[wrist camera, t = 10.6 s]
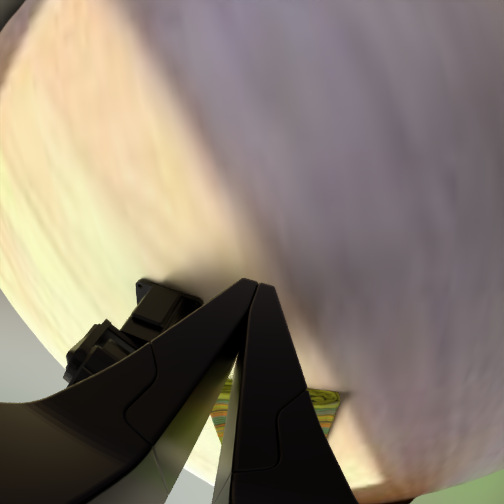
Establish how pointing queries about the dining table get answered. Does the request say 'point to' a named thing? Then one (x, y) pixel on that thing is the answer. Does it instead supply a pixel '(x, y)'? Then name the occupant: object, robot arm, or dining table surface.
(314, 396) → the dish towel
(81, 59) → the dining table surface
